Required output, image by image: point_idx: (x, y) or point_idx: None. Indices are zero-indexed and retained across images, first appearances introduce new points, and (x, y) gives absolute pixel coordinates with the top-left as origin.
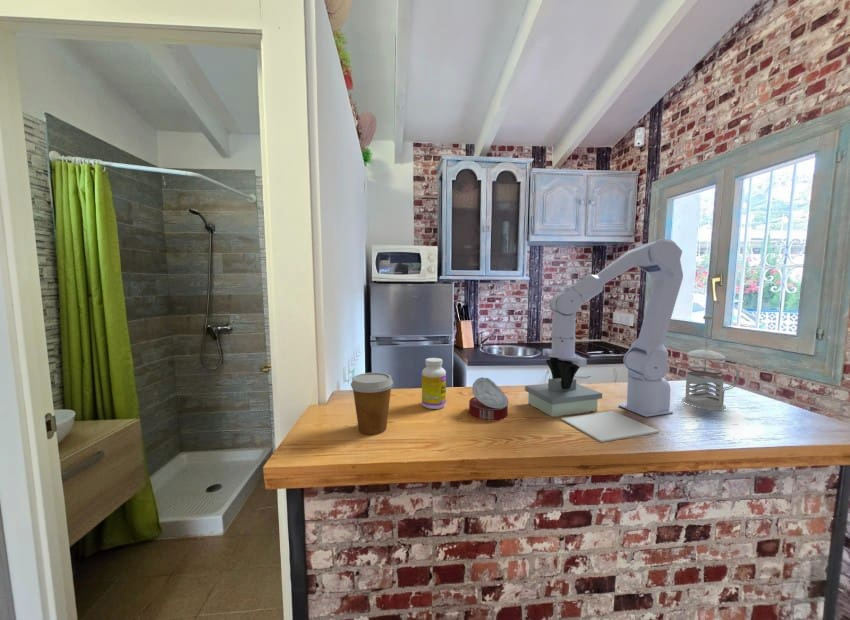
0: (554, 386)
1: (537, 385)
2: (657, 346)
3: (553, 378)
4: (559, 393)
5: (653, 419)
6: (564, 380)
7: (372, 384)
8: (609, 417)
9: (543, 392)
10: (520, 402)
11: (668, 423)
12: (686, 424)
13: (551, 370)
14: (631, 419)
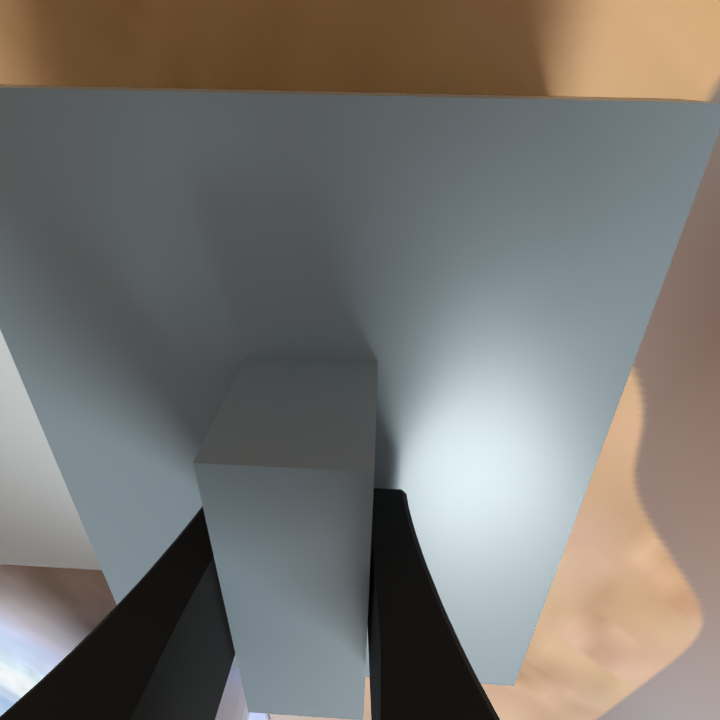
0: (222, 404)
1: (598, 336)
2: None
3: (408, 564)
4: (171, 372)
5: (72, 633)
6: (138, 588)
7: None
8: (66, 496)
9: (256, 185)
10: (634, 37)
11: (26, 642)
12: (19, 675)
13: (457, 714)
14: (38, 562)
